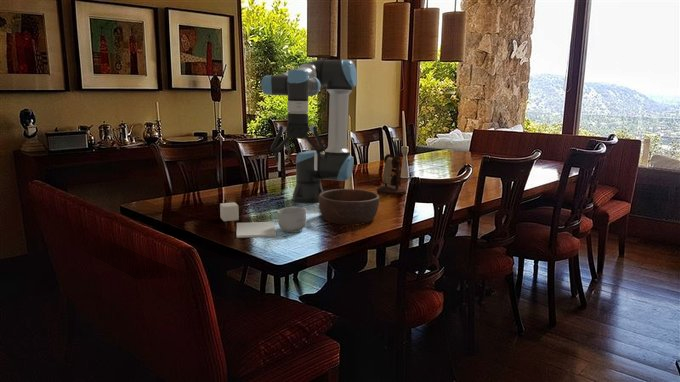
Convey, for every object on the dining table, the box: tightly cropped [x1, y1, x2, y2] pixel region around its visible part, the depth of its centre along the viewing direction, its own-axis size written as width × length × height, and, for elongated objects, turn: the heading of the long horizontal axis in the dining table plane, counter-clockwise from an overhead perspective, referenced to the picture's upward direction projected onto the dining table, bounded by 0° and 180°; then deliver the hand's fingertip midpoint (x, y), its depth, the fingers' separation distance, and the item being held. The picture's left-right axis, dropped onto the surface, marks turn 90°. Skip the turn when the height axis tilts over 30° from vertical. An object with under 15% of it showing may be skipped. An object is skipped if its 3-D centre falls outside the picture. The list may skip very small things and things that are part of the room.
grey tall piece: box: [376, 153, 407, 196], centre depth 258 cm, size 15×15×20 cm
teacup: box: [276, 205, 307, 233], centre depth 195 cm, size 14×11×8 cm
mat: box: [236, 221, 277, 239], centre depth 194 cm, size 14×17×1 cm
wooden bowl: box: [318, 188, 380, 226], centre depth 211 cm, size 25×25×10 cm
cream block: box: [219, 202, 240, 222], centre depth 209 cm, size 6×6×6 cm
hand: (297, 170), depth 192 cm, fingers open, 13 cm apart
